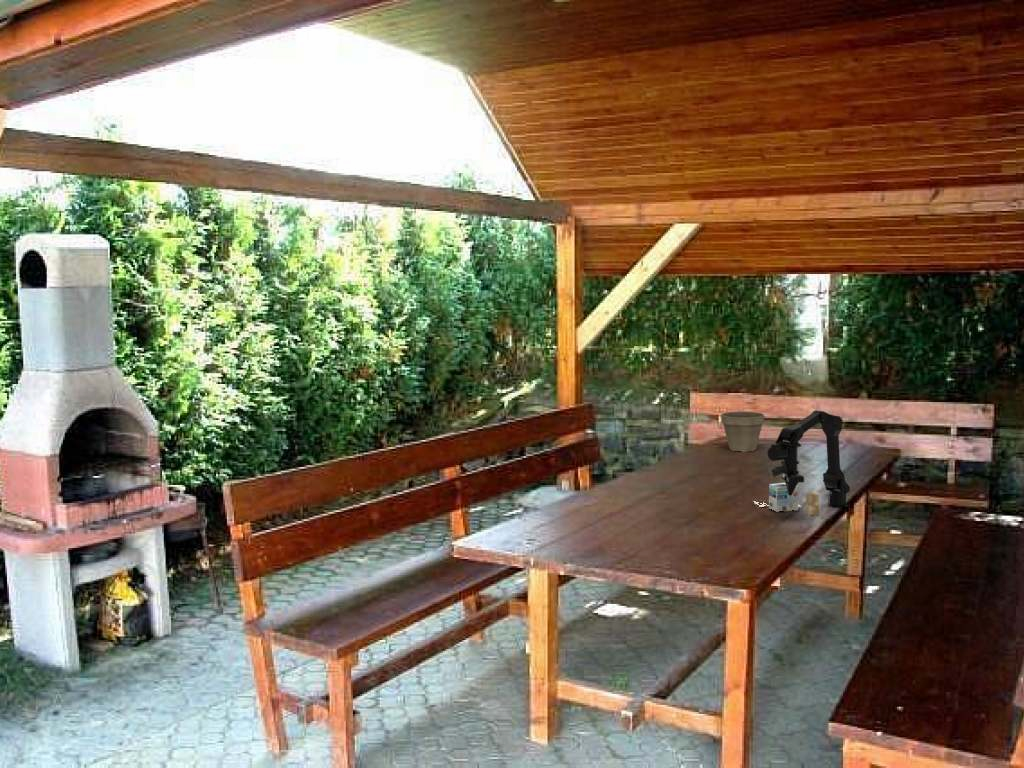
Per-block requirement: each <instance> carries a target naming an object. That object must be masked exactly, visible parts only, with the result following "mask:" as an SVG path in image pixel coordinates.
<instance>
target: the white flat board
mask: <svg viewBox="0 0 1024 768" xmlns="http://www.w3.org/2000/svg"><path fill="white" fill-rule="evenodd" d="M756 501H757V500H756ZM756 501H755V500H752V503H753V502H754V503H753V504H754V505H756V504H757V505H759V504H758V503H759V502H756ZM760 504H762V503H760ZM764 504H766V503H764V502H763V504H762V505H759V507H764V506H766V505H767V504H766V505H764ZM757 505H756V506H757ZM767 506H769V505H767ZM759 507H758V508H759ZM798 508H803V506H802V505H800V504H799V503H798Z"/></svg>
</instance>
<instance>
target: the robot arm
mask: <svg viewBox="0 0 1024 768" xmlns="http://www.w3.org/2000/svg"><path fill="white" fill-rule="evenodd" d="M818 424H820V425H821V429H822V432H823V434H824V435H825V439H826V440H825V441H826V459H827V469H826V471H825V472H823V473H822V476H823V480H822V482H823V484H824V486H825V490H826V491H828V494H827V504H828V505H829V506H830V507H832V508H840V507H841V508H843V507H844V508H847V507H848V505H847V494H848V493H850V491H851V487H850V485H849V484H848V483H847V482H846V478H845V474H844V472H843V471H842V469H841V461H840V460H841V458H840V457H841V456H840V438H839V437H840V434H841V433H842V430H843V418H842V417H841V416H839V415H833V414H830V413H827V412H826V411H824V410H813V411H812V412H811V413H810V414H809V415H807V416H805V417H804V418H803V419H801V420H799V422H797V423H795V424H792V425H788V426H785V427H783V428H782V429H781V431H780V433H779V435H778V436H777V439H776V441H775V443H771V444H770V446H771V447H769V448H768V451H767V453H766V454H767V457H768V459H769V460H770V461H772V462H775V461H780V463H779V464H775V465H773V466H770V467H768V471H769V473H770V476H772V477H773V478H775V477H777V476H780V475H782V477H780V479H781V480H782V481H783V482H784V483H785V484H786V487H787V491H788V495H789V496H791V495H792V494H793V492H794V490H795V488H796V486H797V485H798V484H799V483H805V477H804V476H803V475H802V474H800V471H799V470H798V465H799V464H800V461H799V460H798V448H800V447H802V444H800V443H799V441H801V440H802V438H803V437H804V434H806V432H808V431H809V430H811V429H812V428H814V427H815V426H816V425H818Z"/></svg>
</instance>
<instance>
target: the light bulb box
mask: <svg viewBox="0 0 1024 768" xmlns="http://www.w3.org/2000/svg"><path fill="white" fill-rule="evenodd" d="M768 486H769V488H768V492H769V493H768V501H769V508H768V509H770V510H771V509H772V511H773V510H774V512H775V511H776V513H780V512H779V511H784V512H793V511H792V510H794V511H799V507H798V504H799V492H800V489H799V488H800V485H798V484H797V486H796V488H795V490H794V492H793V494H792V495H791V496H789V495H788V491H787V487H786V484H785V482H778V483H769V485H768Z"/></svg>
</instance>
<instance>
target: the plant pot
mask: <svg viewBox="0 0 1024 768" xmlns="http://www.w3.org/2000/svg"><path fill="white" fill-rule="evenodd" d="M720 417H721V418H720V420H721V421H720V422H721V424H722V425H723V428H724V432H725V436H726V440H727V443H728V447H729V450H730V451H731V450H732V451H731V452H734V451H741V452H740V453H748V452H747V451H753V452H755V451H756V449H757V447H758V442H759V438H760V434H761V432H762V427H763V424H765V414H764V413H762V412H756V411H729V412H723V413H721V414H720ZM754 450H755V451H754Z"/></svg>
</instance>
